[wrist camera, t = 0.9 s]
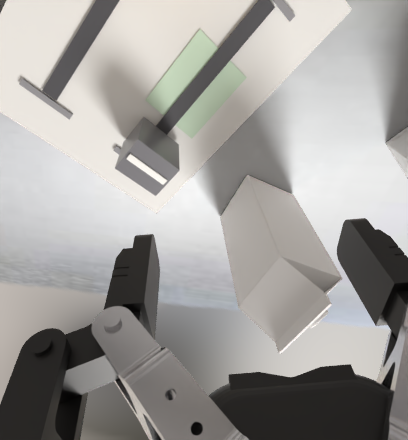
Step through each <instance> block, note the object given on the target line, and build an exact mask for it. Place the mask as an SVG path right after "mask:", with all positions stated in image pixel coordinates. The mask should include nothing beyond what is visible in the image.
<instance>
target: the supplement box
mask: <svg viewBox="0 0 408 440" xmlns="http://www.w3.org/2000/svg"><path fill="white" fill-rule="evenodd" d="M386 145H387V147H388V148H389V150H390V152H391V153H392V155H393V156H394V158H395V159H396V161H397V162H398V164H399V166H400V167H401V169H402V170H403V172H404V173H405V175H406V177H407V178H408V127H407V128H405V129H404V130H403V131H401V132H400V133H398V134H397V135H396V136H394V137H393V138H391V139H390V140H389V141H388V142H386Z"/></svg>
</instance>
